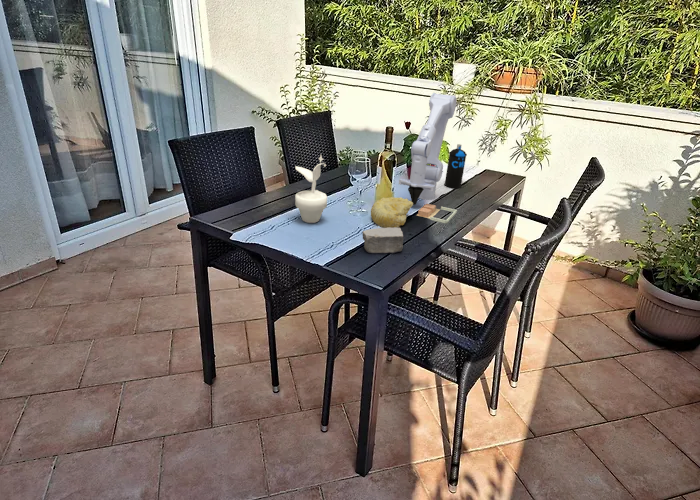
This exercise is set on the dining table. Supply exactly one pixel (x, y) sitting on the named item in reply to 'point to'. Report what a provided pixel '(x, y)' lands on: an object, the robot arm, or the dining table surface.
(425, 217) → the board
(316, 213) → the potted plant
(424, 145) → the robot arm
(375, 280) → the dining table surface
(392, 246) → the decorative stone
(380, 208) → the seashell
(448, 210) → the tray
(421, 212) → the tile
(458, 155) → the aerosol can
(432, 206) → the tile
